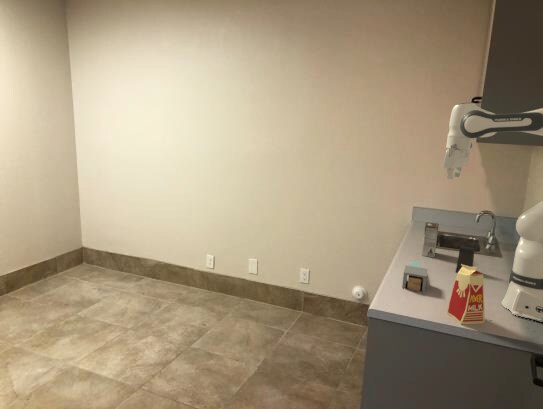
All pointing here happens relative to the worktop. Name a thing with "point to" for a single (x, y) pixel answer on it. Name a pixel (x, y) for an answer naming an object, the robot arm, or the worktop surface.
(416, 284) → the cube
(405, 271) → the tunnel
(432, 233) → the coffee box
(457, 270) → the phone stand
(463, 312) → the milk carton
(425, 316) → the worktop surface
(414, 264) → the bar
